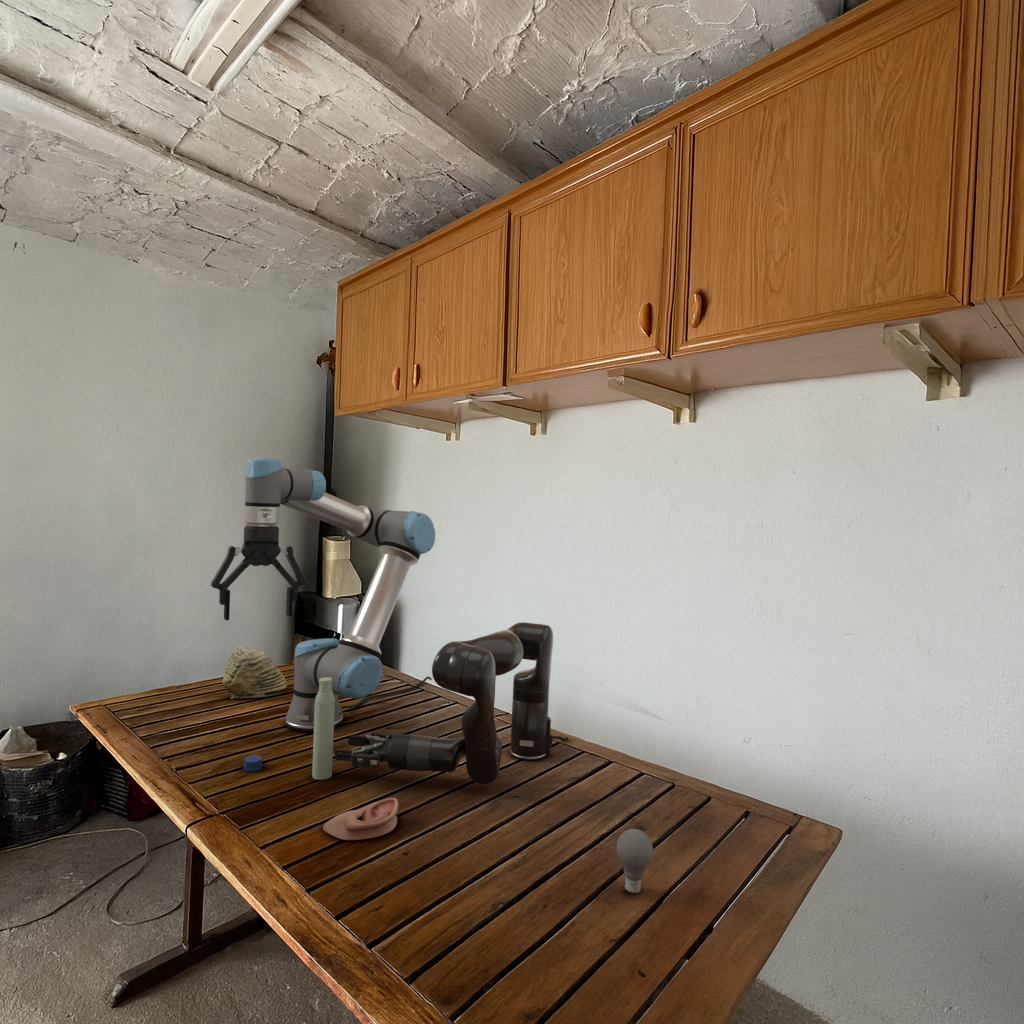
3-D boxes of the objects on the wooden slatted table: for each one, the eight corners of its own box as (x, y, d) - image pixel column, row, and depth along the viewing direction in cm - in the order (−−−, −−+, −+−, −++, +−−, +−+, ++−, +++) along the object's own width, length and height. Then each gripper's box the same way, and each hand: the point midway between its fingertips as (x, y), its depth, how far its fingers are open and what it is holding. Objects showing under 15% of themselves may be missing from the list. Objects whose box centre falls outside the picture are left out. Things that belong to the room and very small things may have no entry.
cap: (265, 766, 147) (266, 757, 147) (252, 772, 144) (253, 763, 144) (253, 763, 149) (253, 753, 149) (239, 769, 145) (240, 759, 145)
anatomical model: (315, 814, 118) (343, 787, 129) (314, 835, 118) (343, 807, 129) (382, 825, 115) (405, 796, 127) (381, 846, 116) (404, 816, 127)
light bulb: (610, 879, 108) (613, 822, 108) (644, 879, 109) (647, 822, 109) (619, 902, 102) (622, 840, 102) (655, 901, 103) (658, 840, 103)
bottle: (307, 776, 143) (311, 679, 143) (322, 770, 147) (326, 675, 146) (321, 781, 141) (325, 682, 140) (336, 774, 145) (339, 678, 144)
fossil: (218, 695, 195) (220, 647, 195) (278, 685, 208) (279, 640, 207) (228, 703, 189) (230, 653, 188) (289, 692, 201) (290, 645, 201)
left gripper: (203, 525, 135) (200, 624, 136) (321, 526, 149) (317, 616, 149) (199, 523, 142) (196, 617, 142) (312, 525, 155) (309, 611, 155)
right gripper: (420, 725, 149) (353, 720, 151) (404, 748, 135) (331, 742, 137) (419, 756, 149) (352, 751, 151) (403, 783, 135) (329, 776, 137)
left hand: (258, 617), depth 146 cm, fingers open, 13 cm apart
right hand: (342, 747), depth 144 cm, fingers open, 8 cm apart
